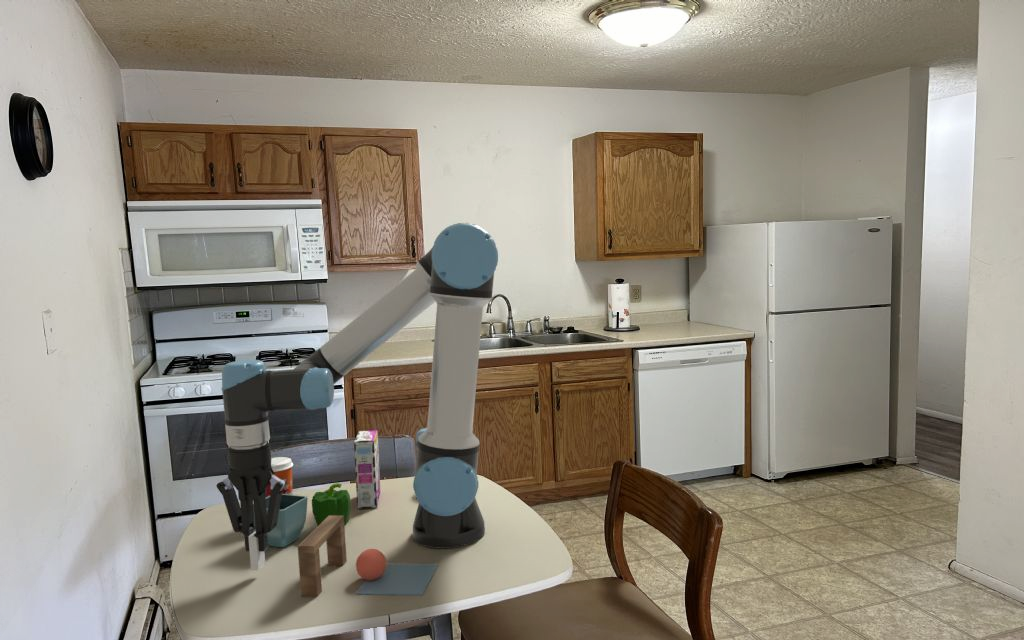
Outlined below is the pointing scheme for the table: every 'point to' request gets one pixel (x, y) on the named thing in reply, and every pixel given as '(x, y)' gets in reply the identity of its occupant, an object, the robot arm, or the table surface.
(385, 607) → the table surface
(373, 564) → the ball
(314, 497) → the bell pepper
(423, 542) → the robot arm
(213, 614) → the table surface
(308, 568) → the bridge
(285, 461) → the paper cup
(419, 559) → the table surface
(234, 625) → the table surface
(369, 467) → the candy bar box
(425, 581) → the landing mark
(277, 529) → the flower pot
